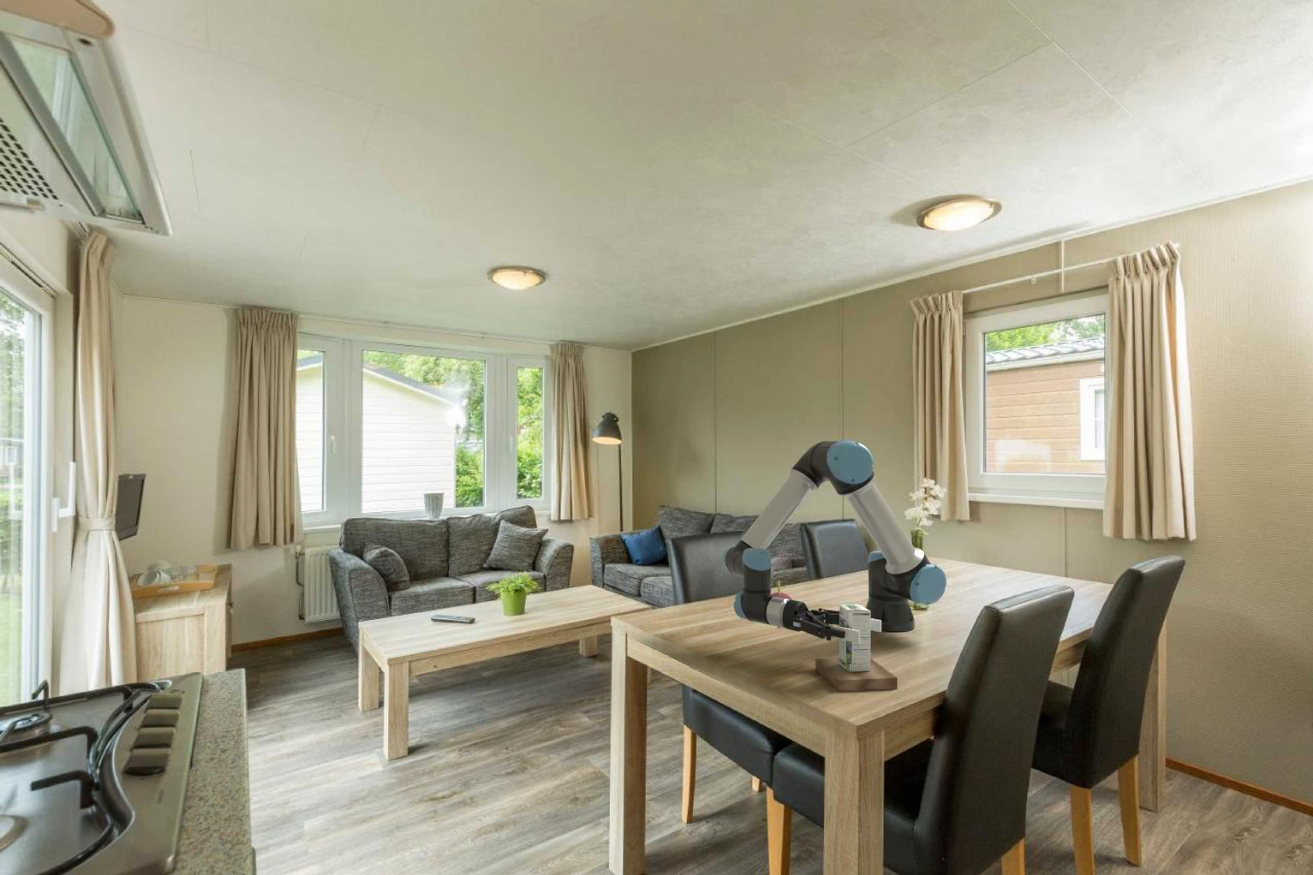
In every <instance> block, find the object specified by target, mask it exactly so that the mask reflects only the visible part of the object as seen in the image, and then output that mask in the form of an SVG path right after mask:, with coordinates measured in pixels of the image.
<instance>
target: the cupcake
mask: <svg viewBox="0 0 1313 875" xmlns="http://www.w3.org/2000/svg"><path fill="white" fill-rule="evenodd" d="M771 596H775V597H780V598H786V599H790V600H793V598H792V597H791V596H790V595H788V594H787V593H784V592H781V582H780V580H777V591H776V592H773V593H772V592H771Z"/></svg>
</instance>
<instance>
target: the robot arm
mask: <svg viewBox="0 0 1313 875" xmlns="http://www.w3.org/2000/svg"><path fill="white" fill-rule="evenodd" d="M873 465H874V457H873V455H872V453H871V452H870V450H869V448H867V447H866V446H865V445H864V444H862V443H860V442H857V441H853V440H848V439H841V440H836V441H834V440H833V441H832V440H825V441H819V442H817V443H816V444H813V445H812V446H811V447H809V448H808V449H807V450H806V451H805V453H803V454H802V455H801V457H800V458H799V459H798V461H796V462H795V463H794V465H793V466H792V467H791V469H790V470H789V473H790V475H789V477H788V478H787V480H786V481H785V482H784V484H782V486H781V487H780V488H779V490H778V491H777V492H776V494H775V495H774V496H773V497H772V499H771V500H770V501H769V503H768V504H767V506H766V507H765V508H764V509H763V510H762V512H761V513H760V514H759V515H758V517H757V518H756V519H755V521H753V523H752V525H751V526H750V527H749V528H748V529H747V531H746V532H745V533H744V535H743V536H742V537H741V539H740V540H739V541H738V542H737V543H736V544H735V546H731V547H729V548H727V549H726V550H724V552H723V555H722V557H721V558H722V560H721V561H722V564H723V567H724V568H725V569H726V570H727V571H728V572H729V573H730V574H733V575H734V576H735V575H736V576H737V577H739V578H741V579H742V581H743V582H742V583H743V584H742V586H743V587H742V590H740V591H739V592H737V593H736V595H735V597H734V599H735V601H734V602H733V610H734V612H735V614H736V616H737V617H739V618H741V619H743V620H746V621H747V620H748V621H750V622H752V623H753V622H755V623H759V624H765V625H769V626H773V627H776V629H778V630H779V629H781V628H782V629H787V630H790V631H794V632H797V633H799V632H804V633H807V634H809V635H812V636H813V637H817V638H820V639H822V640H824V639H826V641H827V642H830V641H832V638H833V639H838V640H839V639H842V640H846V641H850V642H855V643H860V631H859V630H854V629H849V628H845V627H840V626H839V620H840V610H835V609H832V610H831V609H826V608H822V607H821V608H820V607H819V608H818V609H809V608H808V606H807V604H806V603H805V602H803V601H800V600H795V599H792V600H790V599H786V598H780V597H775V596H771V594H772V566H773V565H772V558H771V552H770V550H769V549H767V548H768V547H769V545H771V543H772V542H773V541H774V539H775V538H776V537H777V535H778V534H779V533H780V531H781V530H782V529H783V528H784V526H785V525H786V524H787V523H788V521H789V520H790V519H791V518H792V516H793V515H794V514H795V512H797V510H798V509H799V507H800V506H801V505H802V503H803V502H804V501H805V500H806V498H808V496H809V494H810V493H811V492H815V491H817V490H818V489H819V487H820V486H821V485H823V483H825V482H827V481H828V482H830V484H831V485H832V487H833V488H834V491H835V492H836V493H837V495H839V496H843V497H845V498H846V499H847V500H848V502H849V503H850V505H851V507H852V508H853V510H854V511H855V513H856V515H857V516H858V518H859V520H861V523H862V525H864V527H865V529H866V530H867V532H868V533H869V535H870V537H871V539H872V540H873V541H874V543H875V545H876V546H877V548H878V549H879V550H874V551H870V552H869V554H868V557H867V558H868V559H867V567H868V569H867V571H868V572H867V573H868V576H867V577H868V578H867V579H868V586H867V587H868V598H867V602H866V605H865V608H866V609H868V610H870V611H871V632H879V633H881V632H882V631H886V632H909V631H912V630H914V629H915V627H916V623H915V617H914V613H913V610H912V608H911V606H910V602H911V601H912V602H914V603H915V604H918V605H919V604H921V605H925V606H929V605H934V604H936V602H939V600H940V599H941V598H943V596H944V594H945V592H946V587H947V584H948V583H947V582H948V580H947V576H946V573H945V571H944V570H943V569H942V568H941V567H940V566H938V565H937V564H935V563H931V562H930V560H929V559H928V557H927V555H926V553H925V552H924V551H923V549H921V548H919V547H915V546H914V545H913V543H912V542H911V540H910V538H909V537H908V536H907V534H906V532H905V531H904V529H903V527H902V526H901V524H900V522H899V521H898V519H897V517H896V516H895V514H894V513H893V511H892V510H891V508H890V506H889V505H888V503H887V502H886V500H885V498H884V496H883V495H882V493H881V491H880V490H879V489H878V487H877V485H876V484H875V482H874V480H875V479H876V478H875V477H876V474H875V472H874V467H873ZM909 601H910V602H909ZM831 625H832V626H831Z"/></svg>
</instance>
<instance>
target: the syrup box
mask: <svg viewBox="0 0 1313 875" xmlns="http://www.w3.org/2000/svg"><path fill="white" fill-rule="evenodd" d="M839 611H840V620H839V624H838V626H840V627H845V628H849V629H854V630H859V631H860V643H855V642H850V641H846V640H842V639H838V641H839V643H838V644H839V646H838V648H839V649H838V658H839V664H840V665H841V666H842V667H844V668H845V669H846V670H847V671H848V672H859V671H870V658H871V636H872V634H871V633H872V630H871V611H870V610H868V609H866V606H863V605H861V604H856V603H848V604H847V603H845V604H840V605H839Z"/></svg>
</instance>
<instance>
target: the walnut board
mask: <svg viewBox="0 0 1313 875" xmlns="http://www.w3.org/2000/svg"><path fill="white" fill-rule="evenodd" d="M815 671H817V672H818V673H819V674H820V676H822V677H823V678H824V679H825V680H826V681H827V682H828V683H829V684H830V685H831V686H833V688H834V689H836V690H837V692H855V691H877V690H878V691H879V690H895V689H894V688H897V689H898V677H897V676H896V675H894V674H893V673H891V672H890V670H887V669H886V668H884V666H882V665H881V664H880V663H878V662H877V661H875V660H874V659H873V658H871V657H870V671H859V672H848V671H847V670H846V669H845V668H844V667H842V666H841V665H840V664H839V657H837V658H816V659H815Z"/></svg>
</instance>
